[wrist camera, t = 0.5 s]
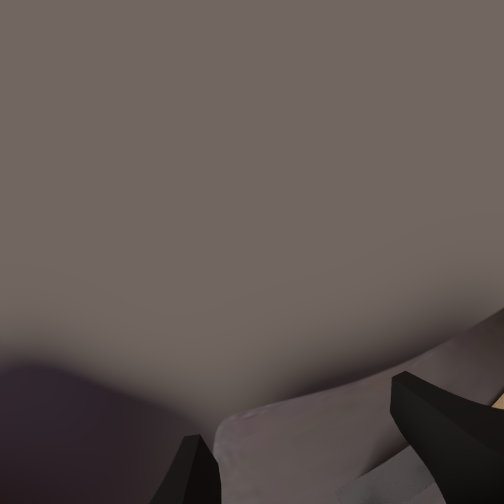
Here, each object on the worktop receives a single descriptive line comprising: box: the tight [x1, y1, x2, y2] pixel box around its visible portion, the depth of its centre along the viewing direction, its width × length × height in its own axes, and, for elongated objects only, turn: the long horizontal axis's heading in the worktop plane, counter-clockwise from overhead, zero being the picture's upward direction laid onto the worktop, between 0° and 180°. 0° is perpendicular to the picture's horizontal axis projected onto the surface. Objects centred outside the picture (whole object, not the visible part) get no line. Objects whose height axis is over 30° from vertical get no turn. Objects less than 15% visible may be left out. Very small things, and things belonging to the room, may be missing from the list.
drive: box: [335, 445, 435, 504], centre depth 15 cm, size 4×8×5 cm, turn 109°
